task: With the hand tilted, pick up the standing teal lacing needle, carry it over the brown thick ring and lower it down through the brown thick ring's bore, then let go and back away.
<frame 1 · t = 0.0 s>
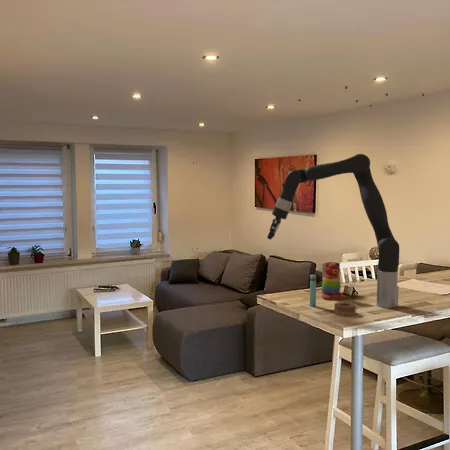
hand: (270, 237, 239), 31 cm above the table, tool tilted 20°, fingers open, 8 cm apart
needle: (312, 305, 229), on the table
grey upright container: (330, 292, 257), on the table
brown thick ring: (344, 313, 216), on the table
stacking bear: (331, 297, 245), on the table
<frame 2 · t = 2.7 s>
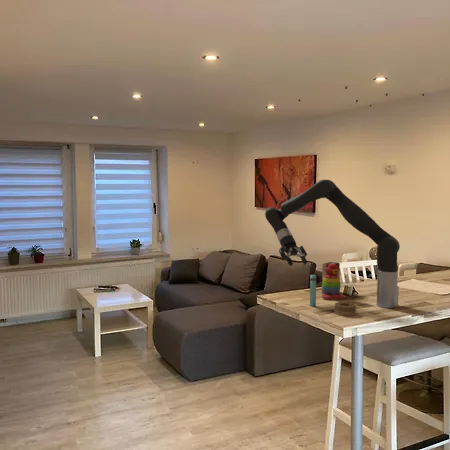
hand: (298, 264, 237), 18 cm above the table, tool tilted 45°, fingers open, 8 cm apart
nothing on the table moved.
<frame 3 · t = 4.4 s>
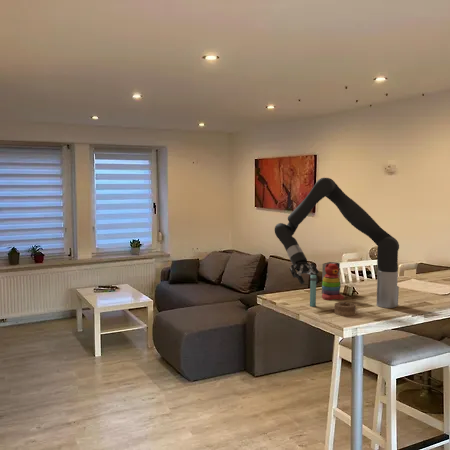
hand: (310, 282, 230), 11 cm above the table, tool tilted 45°, fingers open, 8 cm apart
nothing on the table moved.
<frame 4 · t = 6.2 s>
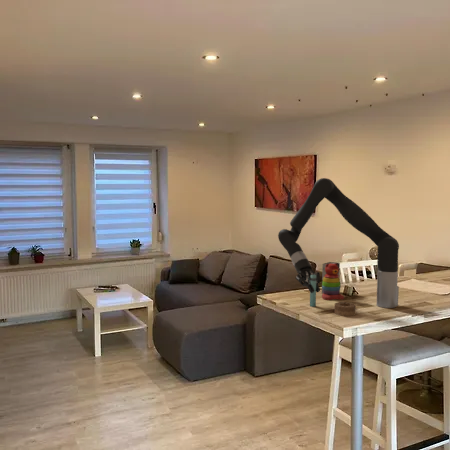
hand: (315, 291, 226), 7 cm above the table, tool tilted 45°, fingers closed on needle, 2 cm apart
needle: (312, 305, 229), on the table, touching gripper
everything else where it was.
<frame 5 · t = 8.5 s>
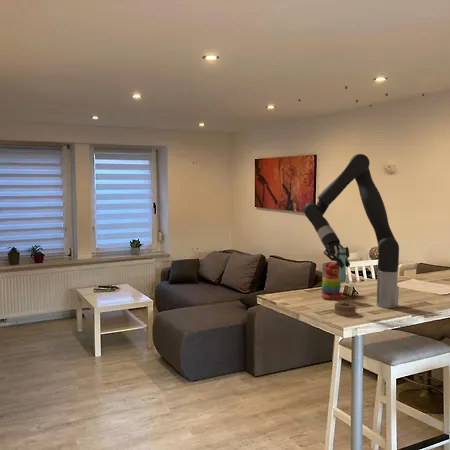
hand: (345, 266, 214), 22 cm above the table, tool tilted 45°, fingers closed on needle, 2 cm apart
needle: (342, 282, 216), point 14 cm above the table, touching gripper
everything else where it was.
when the fingers open (9 cm above the table, at t = 10.9 s): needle drops 1 cm, resting in brown thick ring.
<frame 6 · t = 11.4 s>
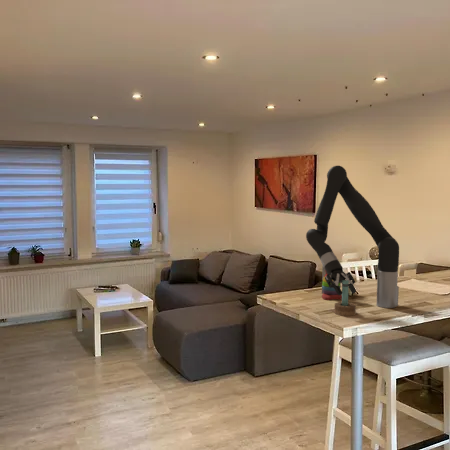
hand: (347, 293, 214), 10 cm above the table, tool tilted 45°, fingers open, 7 cm apart
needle: (344, 313, 216), resting in brown thick ring
everything else where it was.
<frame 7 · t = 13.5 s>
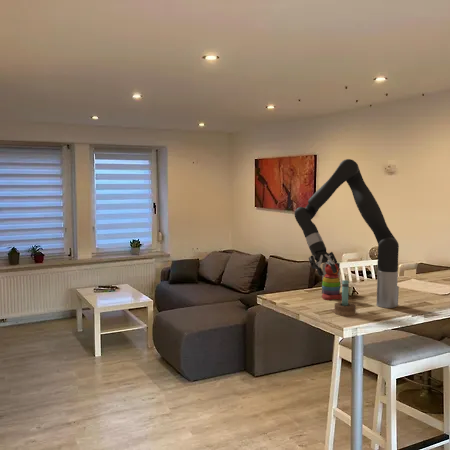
hand: (328, 274, 227), 16 cm above the table, tool tilted 35°, fingers open, 8 cm apart
nothing on the table moved.
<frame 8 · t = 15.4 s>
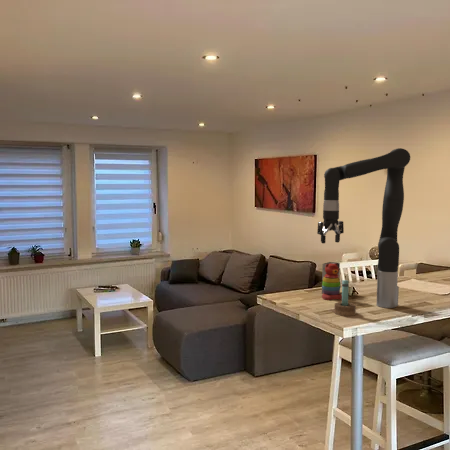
hand: (330, 242, 231), 30 cm above the table, tool pointing down, fingers open, 8 cm apart
nothing on the table moved.
at the end: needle 0.1 cm off-centre on the brown thick ring, point 0.0 cm above the brown thick ring's base; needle tilted 0°; the gripper is holding nothing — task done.
